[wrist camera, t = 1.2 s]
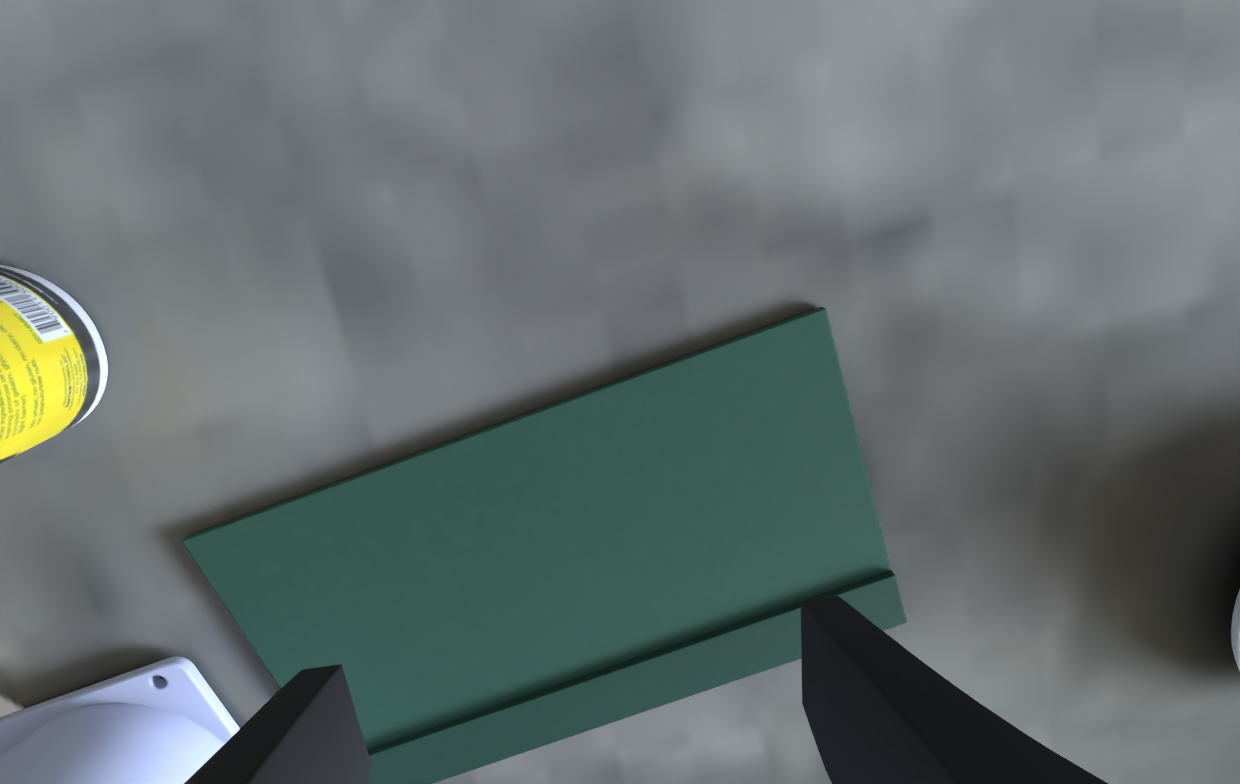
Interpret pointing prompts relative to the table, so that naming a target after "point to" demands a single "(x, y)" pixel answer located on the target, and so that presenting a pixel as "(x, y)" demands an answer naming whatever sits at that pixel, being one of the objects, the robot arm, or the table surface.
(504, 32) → the table surface
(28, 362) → the supplement bottle
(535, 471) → the green board
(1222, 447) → the table surface
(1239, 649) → the flower in vase
